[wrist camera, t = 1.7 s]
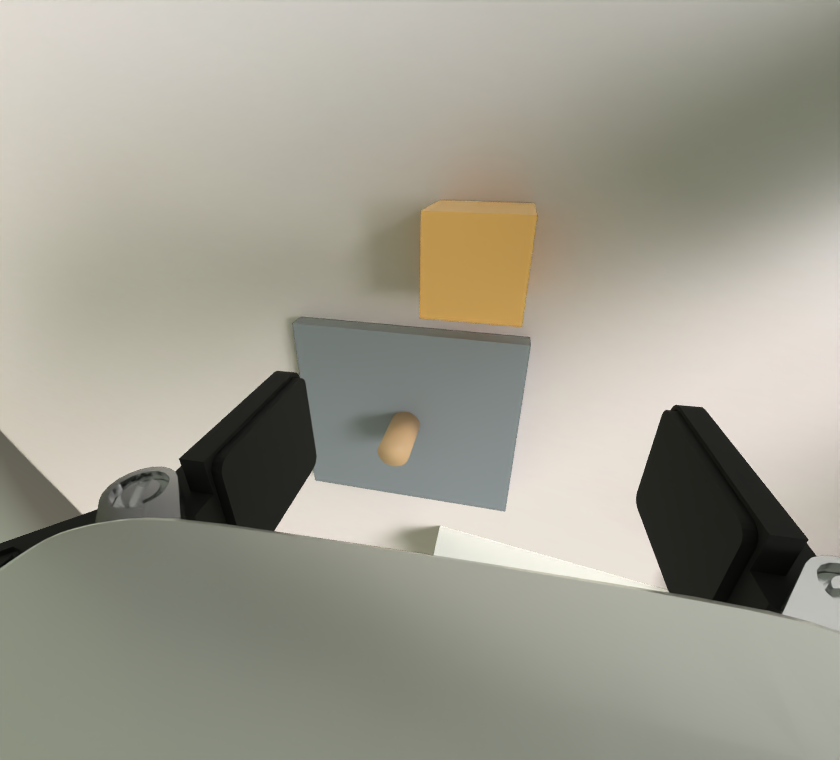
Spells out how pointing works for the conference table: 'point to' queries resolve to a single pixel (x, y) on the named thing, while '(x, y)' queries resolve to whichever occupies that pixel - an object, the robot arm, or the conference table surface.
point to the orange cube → (476, 261)
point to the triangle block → (518, 558)
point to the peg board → (413, 408)
